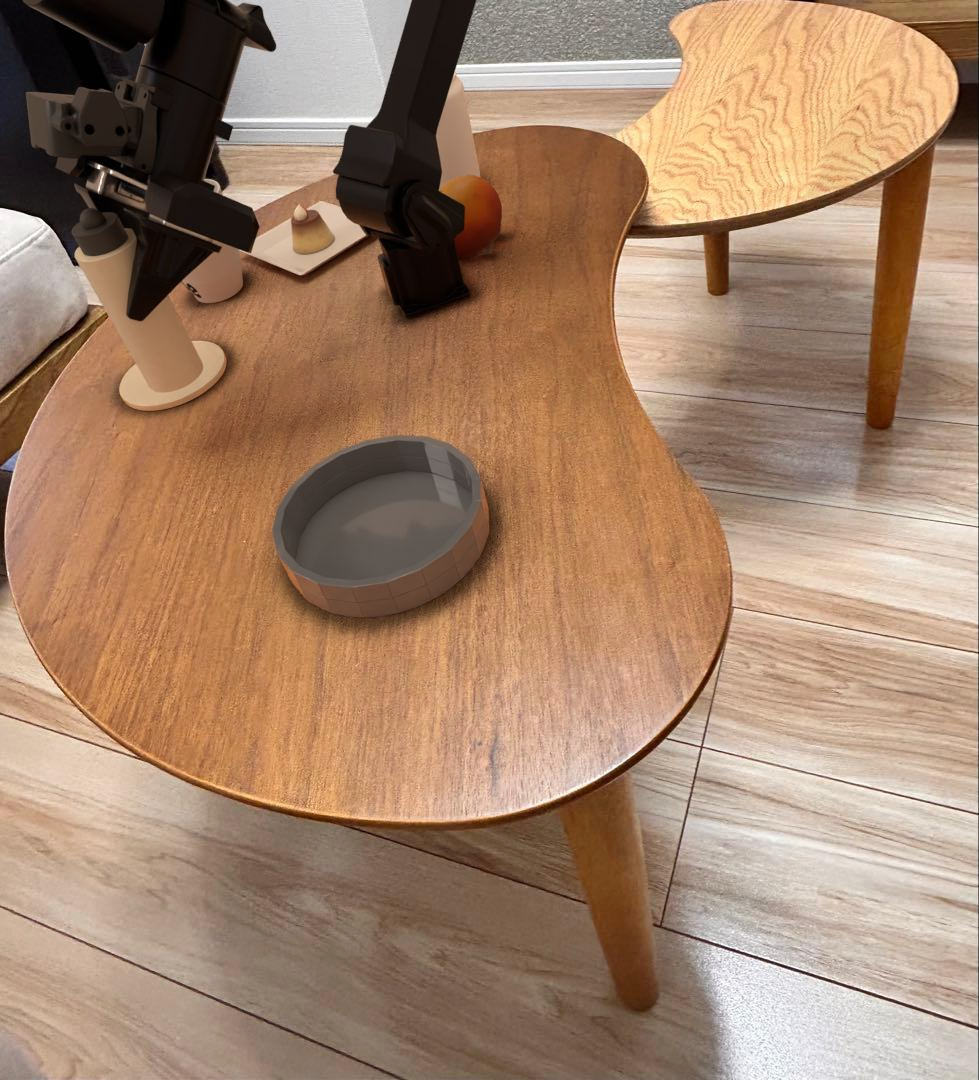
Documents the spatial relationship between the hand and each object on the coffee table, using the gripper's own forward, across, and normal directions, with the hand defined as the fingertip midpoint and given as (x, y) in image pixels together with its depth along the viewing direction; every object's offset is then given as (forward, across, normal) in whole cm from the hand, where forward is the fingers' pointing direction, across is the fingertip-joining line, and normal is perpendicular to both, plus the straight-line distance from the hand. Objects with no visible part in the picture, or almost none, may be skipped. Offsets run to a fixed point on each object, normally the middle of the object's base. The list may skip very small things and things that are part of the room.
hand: (119, 309), depth 62 cm
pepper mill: (+4, 0, +6) cm, 7 cm away
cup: (-1, -22, +21) cm, 31 cm away
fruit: (-15, -4, +34) cm, 37 cm away
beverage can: (-20, -16, +40) cm, 47 cm away
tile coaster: (+6, -12, +12) cm, 19 cm away
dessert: (-9, -21, +29) cm, 36 cm away
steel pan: (+7, +22, +12) cm, 26 cm away
